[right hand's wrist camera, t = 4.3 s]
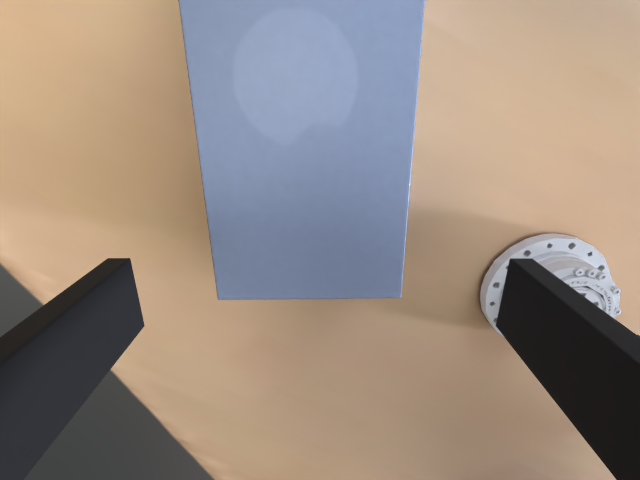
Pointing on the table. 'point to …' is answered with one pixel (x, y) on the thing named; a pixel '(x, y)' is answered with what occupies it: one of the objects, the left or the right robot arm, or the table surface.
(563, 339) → the right robot arm
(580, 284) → the mechanical component
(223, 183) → the cabinet
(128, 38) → the table surface
